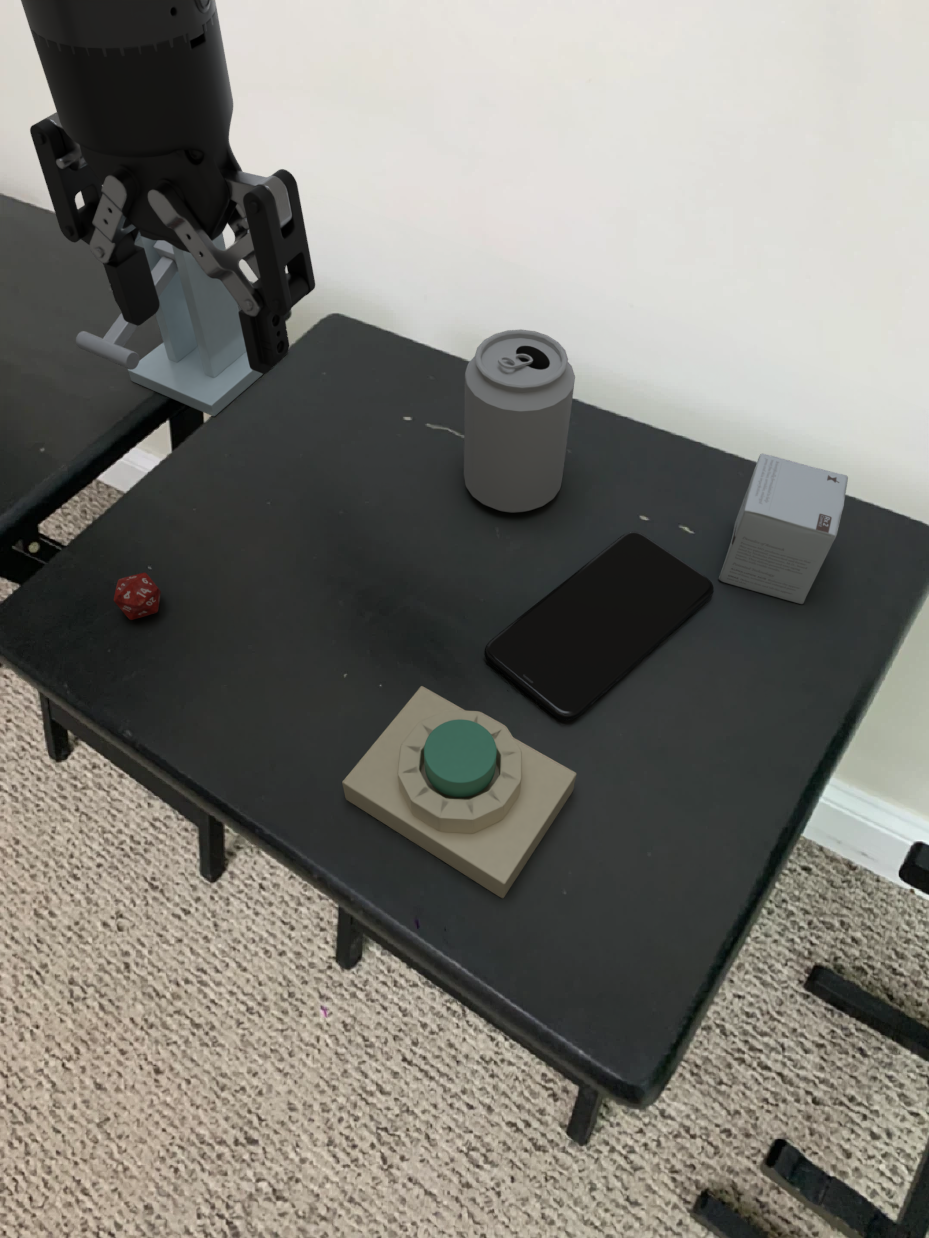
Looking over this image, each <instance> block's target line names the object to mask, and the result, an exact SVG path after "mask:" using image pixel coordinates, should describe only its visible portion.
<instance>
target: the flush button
mask: <svg viewBox="0 0 929 1238" xmlns="http://www.w3.org/2000/svg"><path fill="white" fill-rule="evenodd" d="M496 756H497V748H496V744H495V741H494V739H493V737H492V735H491V734H490V733H489V731H488V730H487V729H485V728H484V727H483V726H481V725H480V724H478V723H476V722H473V721H469V720H463V719H457V720H451V721H447V722H445V723H443V724H441V725H439V726H438V727H436V728H435V729H434V730H433V731H432V732H431V733H430V735H429V736H428V738H427V740H426V742H425V746H424V764H425V772H426V776H427V778H428V780H429V781H430V783H431V784H432V785H433V786H434V787H435V788H436V789H437V790H438V791H440V792H442V793H444V794H446V795H449V796H453V797H468V796H472V795H475V794H477V793H479V792H481V791H482V790H483V789H485V788H486V787H487V786H488V785H489V783H490V782H491V780H492V779H493V776H494V774H495V768H496Z"/></svg>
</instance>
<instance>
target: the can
mask: <svg viewBox="0 0 929 1238" xmlns="http://www.w3.org/2000/svg"><path fill="white" fill-rule="evenodd" d="M575 381H576V375H575V372H574V368H573V365H571V364H570V362H569V357H568V354H567V351H566V349H565V347H564V346H562V344H561V343H560V342H559V341H557V340H556V339H554V338H552V337H551V336H549V335H548V334H545V333H541V332H539V331H536V330H530V329H529V330H528V329H521V328H520V329H507V330H504V331H500V332H496V333H494V334H492V335H490V336H488V337H486V338H485V339H483V340H482V342H481V343H480V344H479V345H478V346H477V348H476V351H475V354H474V356H473V357H472V358H471V360H469V362H468V363H467V366H466V368H465V373H464V421H463V423H464V424H463V425H464V427H463V428H464V429H463V440H464V441H463V479H464V485H465V487H466V489H467V490H468V492H469V493H470V495H471V496H472V497H473V498H474V499H476V501H478V502H480V504H482V505H483V506H486V507H489V508H491V509H494V510H497V511H500V512H505V513H512V514H513V513H524V512H530V511H532V510H535V509H539V508H541V507H543V506H546V504H548V503H549V502H551V501H552V500H554V499H555V497H556V496H557V495H558V493H559V491H560V490H561V487H562V481H563V475H564V469H565V468H564V467H565V460H566V451H567V443H568V438H569V437H568V435H569V429H570V420H571V413H572V407H573V405H572V404H573V399H574V398H573V397H574V390H575Z"/></svg>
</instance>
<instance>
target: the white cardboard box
mask: <svg viewBox="0 0 929 1238" xmlns="http://www.w3.org/2000/svg"><path fill="white" fill-rule="evenodd" d="M756 461H757V462H756V463H755V466H754V470H753V472H752V475H751V478H750V481H749V483H748V486H747V489H746V492H745V495H744V496H743V500H742V503H741V505H740V508H739V510H738V513H737V516H736V519H735V522H734V526H733V530H732V536H731V540H730V543H729V546H728V549H727V551H726V552H727V553H726V556H725V559H724V562H723V565H722V568H721V571H720V573H719V576H718V580H719V581H720V582H722V583H724V584H728V585H732V586H735V587H739V588H742V589H745V590H749V591H752V592H757V593H760V594H763V595H767V596H771V597H774V598H778V599H781V600H784V601H788V602H792V603H795V604H799V605H803V604H804V603H805V601H806V599H807V596H808V595H809V592H810V590H811V588H812V586H813V584H814V583H815V580H816V578H817V576H818V574H819V572H820V570H821V568H822V566H823V564H824V562H825V559H826V558H827V556H828V554H829V552H830V550H831V548H832V546H833V544H834V541H835V540H836V538H837V535H838V532H839V527H840V522H841V519H842V513H843V510H844V506H845V499H846V494H847V487H848V481H849V477H848V475H847V474H843V473H840V472H839V473H838V472H834V471H831V470H826V469H823V468H820V467H819V468H818V467H815V466H812V465H808V464H803V463H800V462H796V461H793V460H789V459H786V458H782V457H779V456H775V455H772V454H771V455H770V454H767V453H759V456H758V458H757V460H756Z"/></svg>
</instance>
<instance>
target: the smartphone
mask: <svg viewBox="0 0 929 1238" xmlns="http://www.w3.org/2000/svg"><path fill="white" fill-rule="evenodd" d="M713 593H714V584H713V582H712V581H711V580H710V579H709V578H708V577H707V576H706V575H704V574H703V573H701V572H700V571H698V570H696V569H695V568H694V567H693V566H691V565H689V564H688V563H686V562H685V561H684V560H682V559H681V558H679V557H677V556H676V555H674V554H673V553H671V552H670V551H669V550H667V549H666V548H664V547H663V546H661V545H660V544H659V543H657V542H655V541H654V540H652V539H651V538H650V537H648V536H647V535H645V534H643V533H642V532H639V531H628V532H625V533H624V534H622V535H621V536H619V537H618V538H617V539H616V540H615V541H613V542H612V543H610V545H608V546H607V547H606V548H605V549H603V550H602V551H601V552H600V553H598V554H597V555H596V556H594V557H593V558H591V559H590V561H588V562H587V563H585V564H584V565H583V566H582V567H580V568H579V569H578V570H577V571H576V572H574V573H573V574H571V576H569V577H568V578H567V579H566V580H564V581H562V583H561V584H559V585H557V586H556V587H555V588H554V589H552V591H551V592H549V593H547V595H545V596H544V597H543V598H541V599H540V600H539V601H538V602H536V603H535V604H534V605H533V606H531V607H529V608H528V610H526V611H525V612H524V613H523V614H521V615H520V616H519V617H517V618H516V619H515V620H514V621H513V622H512V623H510V624H509V625H507V627H505V628H504V629H503V630H502V631H500V632H499V633H498V634H496V635H495V636H494V637H493V638H491V639H490V640H489V641H488V642H487V644H486V645H485V647H484V656H485V658H486V660H487V661H488V662H489V663H490V665H492V666H493V667H494V668H495V669H497V670H498V671H499V672H500V673H501V674H502V675H504V676H505V677H506V678H507V679H508V680H510V681H511V682H512V683H513V684H514V685H516V686H517V687H518V688H520V689H521V690H522V691H523V692H524V693H526V694H527V695H528V696H529V697H530V698H532V699H533V700H534V701H535V702H536V703H538V704H539V706H541V707H543V709H545V710H546V711H547V712H548V713H550V714H551V715H553V716H554V717H555V718H557V719H559V720H562V721H572V720H575V719H576V718H578V717H579V716H580V715H582V714H583V713H584V712H585V711H586V710H588V708H589V707H591V706H592V705H593V704H594V703H595V702H596V701H597V700H598V699H599V698H601V697H602V696H603V695H605V694H606V692H608V691H609V690H610V689H611V688H612V687H613V686H614V685H615V684H616V683H618V682H619V681H620V680H621V679H622V678H623V677H625V676H626V675H627V673H628V672H629V671H630V670H632V669H633V668H634V667H635V666H637V664H638V663H639V662H640V661H641V660H643V659H644V658H645V657H646V656H647V655H648V654H649V653H650V652H651V651H653V650H654V649H655V648H656V647H657V646H658V645H660V643H661V642H662V641H664V640H665V639H666V638H668V636H669V635H670V634H671V633H672V632H674V631H675V630H676V629H677V628H678V627H679V626H680V625H681V624H683V622H685V621H686V620H687V619H689V617H691V616H692V615H693V614H694V613H695V612H696V611H697V610H698V609H699V608H700V607H701V606H703V605H704V604H705V602H707V601H708V600H709V599H710V598H711V596H712V595H713Z"/></svg>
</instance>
